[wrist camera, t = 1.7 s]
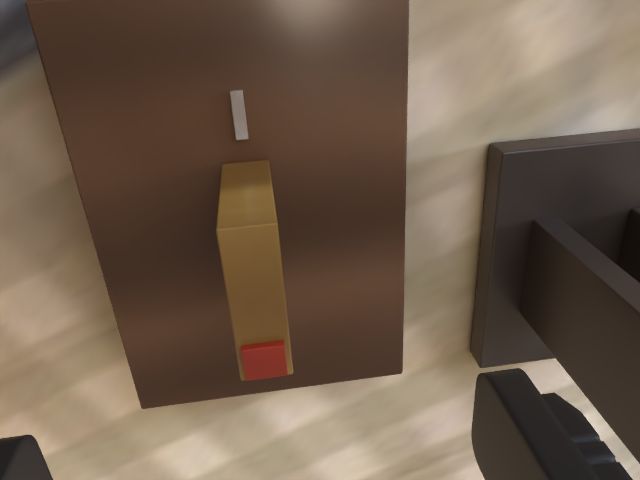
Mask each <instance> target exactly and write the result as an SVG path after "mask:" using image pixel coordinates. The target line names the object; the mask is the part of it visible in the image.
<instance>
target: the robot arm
mask: <svg viewBox="0 0 640 480" xmlns="http://www.w3.org/2000/svg"><path fill="white" fill-rule="evenodd" d="M472 444H473V450H474V454H475V457H476V460H477V463H478V466H479V468H480V470H481V472H482V474H483V476H484V478H485V480H632V478H631V477H630V476H629V474H628V473H627V472H626V470H625V469H624V468H623V466H622V465H621V464H620V462H616V460H615V456H614V455H613V453H612V452H611V451H610V449H609V448H608V447H607V445H606V444H605V443H604V441H601V440H600V438H599V435H598V434H597V432H596V431H595V430H594V428H593V427H592V426H591V424H590V423H589V422H588V420H587V419H586V418H585V417H584V415H583V414H582V413H581V412H580V411H579V410H578V409H576V408H575V407H574V406H572V405H571V404H569V403H568V402H567V401H565V400H564V399H562V398H561V397H560V396H558V395H557V394H556V393H548V394H540V393H539V391H538V390H537V388H536V387H535V386H534V384H533V383H532V381H531V380H530V378H529V377H528V376H527V374H526V373H525V372H524V371H523V370H522V369H520V368H516V369H508V370H501V371H494V372H487V373H480V374H479V375H478V377H477V381H476V390H475V401H474V411H473V421H472ZM0 480H53V478H52V476H51V474H50V471H49V469H48V467H47V464H46V462H45V459H44V457H43V455H42V452H41V450H40V448H39V445H38V443H37V441H36V439H35V438H34V437H33V436H32V435H23V436H16V437H9V438H1V439H0Z"/></svg>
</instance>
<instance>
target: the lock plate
mask: <svg viewBox="0 0 640 480" xmlns="http://www.w3.org/2000/svg"><path fill="white" fill-rule="evenodd" d="M25 6H26V9H27V13H28V16H29V19H30V23H31V26H32V30H33V33H34V37H35V40H36V44H37V47H38V51H39V54H40V58H41V61H42V65H43V68H44V72H45V75H46V78H47V82H48V85H49V89H50V92H51V96H52V99H53V103H54V106H55V110H56V113H57V117H58V120H59V124H60V127H61V130H62V134H63V137H64V141H65V144H66V148H67V151H68V155H69V158H70V162H71V165H72V169H73V172H74V176H75V179H76V183H77V186H78V189H79V193H80V196H81V200H82V203H83V207H84V210H85V214H86V217H87V221H88V224H89V228H90V231H91V235H92V238H93V242H94V245H95V248H96V252H97V255H98V259H99V262H100V266H101V269H102V273H103V276H104V280H105V283H106V287H107V290H108V294H109V297H110V301H111V304H112V307H113V311H114V314H115V318H116V321H117V325H118V328H119V332H120V335H121V339H122V342H123V346H124V349H125V353H126V356H127V360H128V363H129V366H130V370H131V373H132V377H133V380H134V384H135V387H136V391H137V394H138V398H139V401H140V405H141V408H142V409H146V408H154V407H161V406H168V405H175V404H183V403H190V402H197V401H205V400H212V399H219V398H227V397H234V396H241V395H248V394H256V393H263V392H270V391H278V390H285V389H292V388H300V387H307V386H314V385H322V384H329V383H336V382H343V381H351V380H358V379H365V378H373V377H380V376H387V375H395V374H401V373H402V371H403V317H404V261H405V204H406V148H407V91H408V34H409V0H27V1H26V2H25ZM260 160H268V161H269V166H270V173H271V180H272V188H273V195H274V202H275V209H276V216H277V223H278V232H279V241H280V251H281V260H282V270H283V279H284V289H285V298H286V308H287V317H288V327H289V336H290V346H291V355H292V365H293V374H288V375H286V376H278V377H271V378H264V379H256V380H249V381H246V380H243V381H242V380H241V378H240V372H239V366H238V360H237V354H236V348H235V342H234V336H233V330H232V324H231V317H230V311H229V305H228V299H227V293H226V287H225V281H224V275H223V269H222V263H221V257H220V251H219V245H218V239H217V233H216V227H217V216H218V205H219V193H220V182H221V171H222V165H223V164H230V163H240V162H250V161H260Z"/></svg>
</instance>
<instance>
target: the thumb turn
mask: <svg viewBox="0 0 640 480" xmlns="http://www.w3.org/2000/svg"><path fill="white" fill-rule="evenodd" d="M216 233H217V239H218V245H219V251H220V257H221V263H222V269H223V275H224V281H225V287H226V293H227V299H228V305H229V311H230V317H231V324H232V330H233V336H234V342H235V348H236V354H237V360H238V366H239V372H240V378H241V380H242V381H243V380H246V381H249V380H256V379H264V378H271V377H278V376H286V375H288V374H293V365H292V355H291V346H290V336H289V327H288V317H287V308H286V298H285V289H284V279H283V270H282V260H281V251H280V241H279V232H278V223H277V216H276V209H275V202H274V195H273V188H272V180H271V173H270V166H269V161H268V160H260V161H250V162H240V163H230V164H223V165H222V171H221V182H220V193H219V205H218V216H217V227H216Z"/></svg>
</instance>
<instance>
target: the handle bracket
mask: <svg viewBox="0 0 640 480" xmlns="http://www.w3.org/2000/svg"><path fill="white" fill-rule="evenodd" d="M471 354H472V355H473V357H474V359H475V360H476V362H477V364H478V365H479V367H480V368H487V367H494V366H501V365H508V364H516V363H523V362H530V361H537V360H545V359H552V358H556V359H557V360H558V362H559V363H560V364H561V365H562V367H563V368H564V369H565V370H566V372H567V373H568V374H569V375H570V377H571V378H572V379H573V380H574V382H575V383H576V384H577V385H578V387H579V388H580V389H581V390H582V392H583V393H584V394H585V396H586V397H587V398H588V399H589V401H590V402H591V403H592V404H593V406H594V407H595V408H596V409H597V411H598V412H599V413H600V414H601V416H602V417H603V418H604V419H605V421H606V422H607V423H608V424H609V426H610V427H611V428H612V429H613V431H614V432H615V433H616V435H617V436H618V437H619V438H620V440H621V441H622V442H623V443H624V445H625V446H626V447H627V448H628V450H629V451H630V452H631V453H632V455H633V456H634V457H635V458H636V460H637V461H638V462H639V463H640V129H630V130H620V131H610V132H600V133H590V134H580V135H570V136H560V137H550V138H540V139H530V140H520V141H510V142H500V143H491V144H490V146H489V156H488V167H487V178H486V189H485V200H484V211H483V222H482V232H481V243H480V254H479V265H478V276H477V287H476V298H475V308H474V319H473V330H472V341H471Z"/></svg>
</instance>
